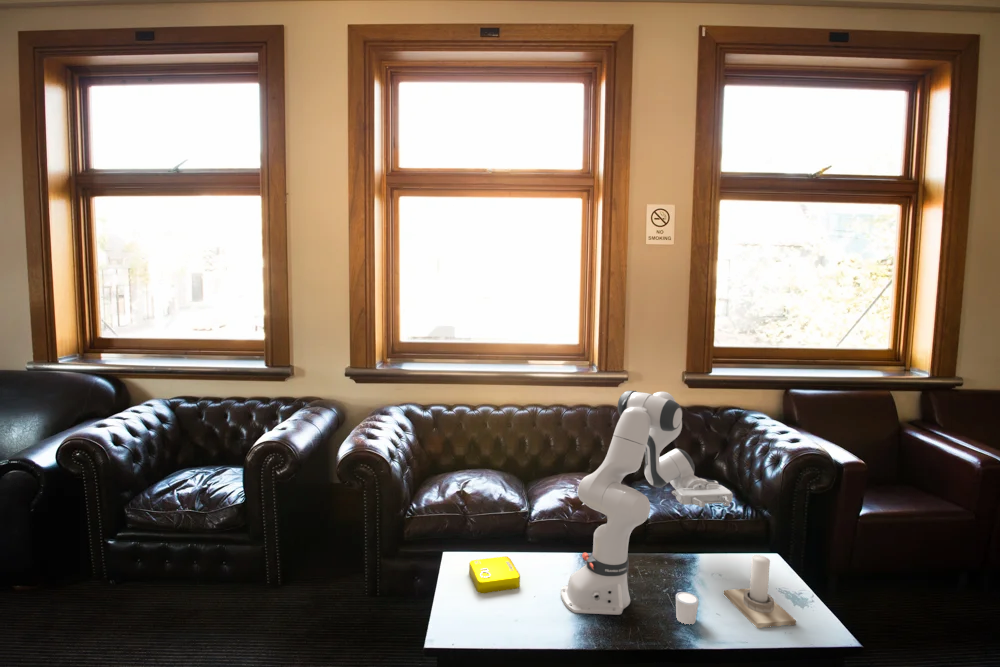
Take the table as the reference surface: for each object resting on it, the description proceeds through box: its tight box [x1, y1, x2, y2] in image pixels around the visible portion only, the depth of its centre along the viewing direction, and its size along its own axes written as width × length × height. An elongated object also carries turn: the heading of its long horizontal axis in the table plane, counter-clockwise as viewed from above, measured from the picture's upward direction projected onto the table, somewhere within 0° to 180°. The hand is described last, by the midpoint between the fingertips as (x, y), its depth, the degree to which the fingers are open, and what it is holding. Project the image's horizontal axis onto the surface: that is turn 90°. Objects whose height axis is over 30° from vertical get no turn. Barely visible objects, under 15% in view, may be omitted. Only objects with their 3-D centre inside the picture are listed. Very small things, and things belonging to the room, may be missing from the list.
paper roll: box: [749, 554, 771, 603], centre depth 175 cm, size 5×5×15 cm
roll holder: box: [723, 587, 797, 629], centre depth 176 cm, size 13×18×4 cm
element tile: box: [468, 556, 521, 594], centre depth 189 cm, size 15×15×5 cm
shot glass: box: [675, 591, 700, 626], centre depth 169 cm, size 7×7×7 cm
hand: (715, 504), depth 193 cm, fingers open, 8 cm apart
